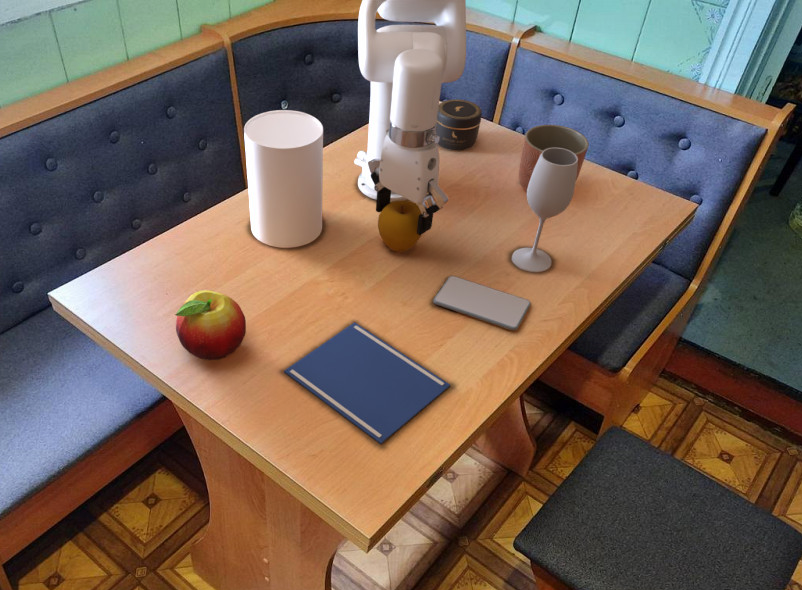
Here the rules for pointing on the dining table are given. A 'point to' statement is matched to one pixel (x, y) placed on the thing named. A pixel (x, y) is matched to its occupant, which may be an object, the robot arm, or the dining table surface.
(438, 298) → the smartphone
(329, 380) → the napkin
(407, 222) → the apple
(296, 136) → the canister
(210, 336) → the fruit
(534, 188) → the wineglass
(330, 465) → the dining table surface
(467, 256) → the dining table surface
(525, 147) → the planter
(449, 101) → the jar
